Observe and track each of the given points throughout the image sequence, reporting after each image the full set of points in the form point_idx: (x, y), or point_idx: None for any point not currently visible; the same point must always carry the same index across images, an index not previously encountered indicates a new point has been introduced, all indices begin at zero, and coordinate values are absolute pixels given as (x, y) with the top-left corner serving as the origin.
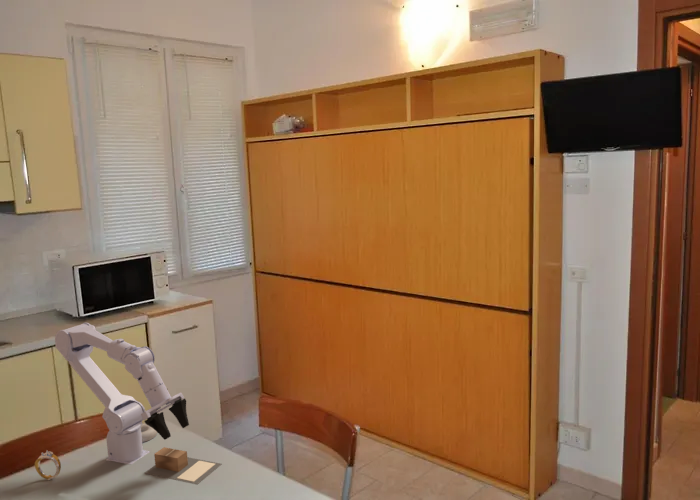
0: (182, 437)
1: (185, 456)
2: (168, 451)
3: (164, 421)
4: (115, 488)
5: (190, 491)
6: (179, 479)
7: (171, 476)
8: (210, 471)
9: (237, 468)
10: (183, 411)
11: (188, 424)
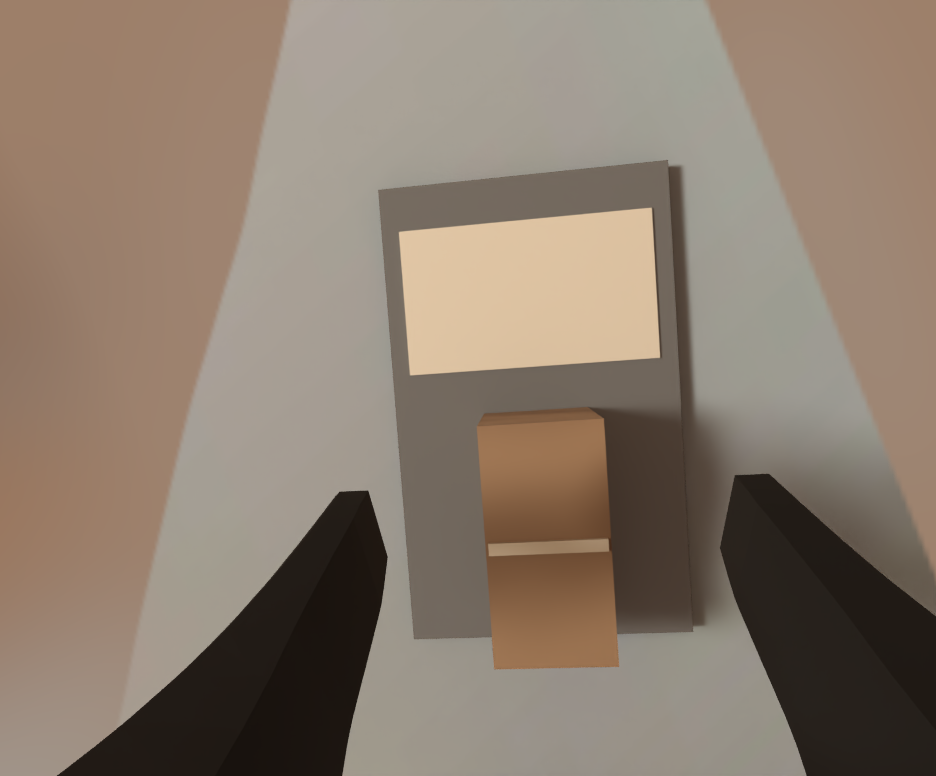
0: None
1: (500, 420)
2: (539, 578)
3: (922, 682)
4: None
5: (731, 168)
6: (666, 327)
7: (655, 410)
8: (495, 194)
9: (368, 70)
10: (267, 668)
11: (345, 496)
